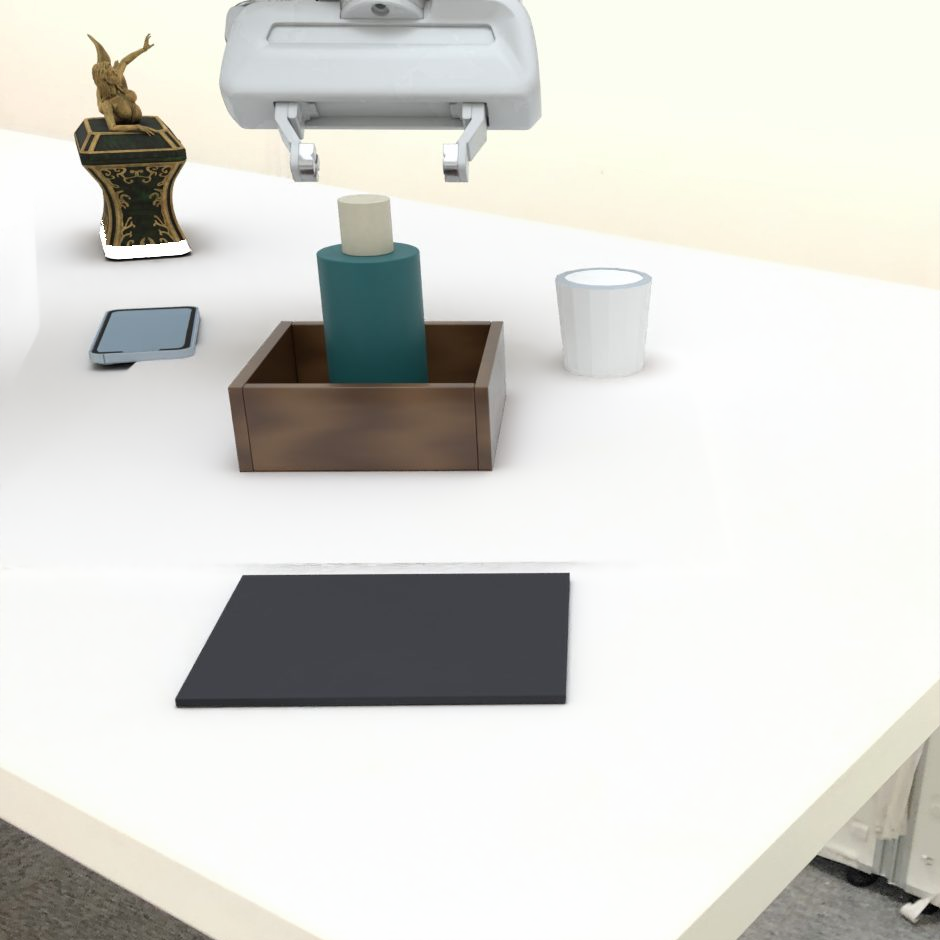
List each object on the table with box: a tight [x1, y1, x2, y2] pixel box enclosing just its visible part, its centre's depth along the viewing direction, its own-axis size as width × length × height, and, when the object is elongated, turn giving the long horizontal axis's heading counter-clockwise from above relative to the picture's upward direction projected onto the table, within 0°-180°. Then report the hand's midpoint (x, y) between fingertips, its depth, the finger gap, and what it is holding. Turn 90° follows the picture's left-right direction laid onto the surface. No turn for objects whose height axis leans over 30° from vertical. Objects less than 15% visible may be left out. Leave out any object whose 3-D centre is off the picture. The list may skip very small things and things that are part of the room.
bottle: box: [315, 193, 429, 384], centre depth 80 cm, size 6×6×14 cm
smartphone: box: [87, 305, 201, 366], centre depth 103 cm, size 7×1×15 cm
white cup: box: [554, 267, 653, 379], centre depth 95 cm, size 7×7×7 cm
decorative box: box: [73, 33, 188, 246], centre depth 132 cm, size 20×10×20 cm, turn 22°
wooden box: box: [227, 320, 507, 473], centre depth 83 cm, size 15×15×6 cm
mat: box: [174, 572, 571, 708], centre depth 60 cm, size 16×12×1 cm
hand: (380, 176), depth 83 cm, fingers open, 8 cm apart
